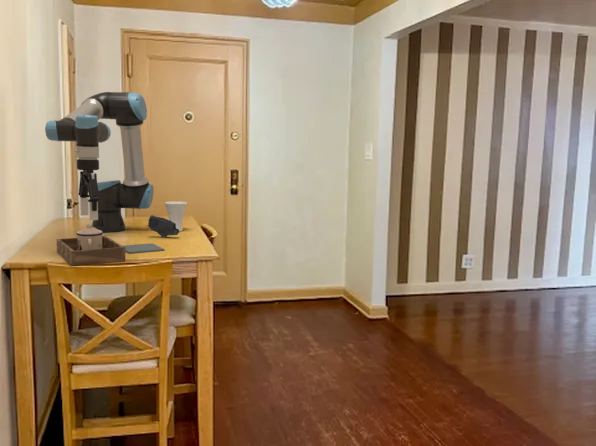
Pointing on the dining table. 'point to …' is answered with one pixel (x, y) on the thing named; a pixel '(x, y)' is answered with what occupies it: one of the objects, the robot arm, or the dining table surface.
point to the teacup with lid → (89, 238)
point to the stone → (162, 226)
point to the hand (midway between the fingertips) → (89, 217)
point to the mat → (142, 248)
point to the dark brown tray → (90, 252)
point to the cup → (176, 212)
